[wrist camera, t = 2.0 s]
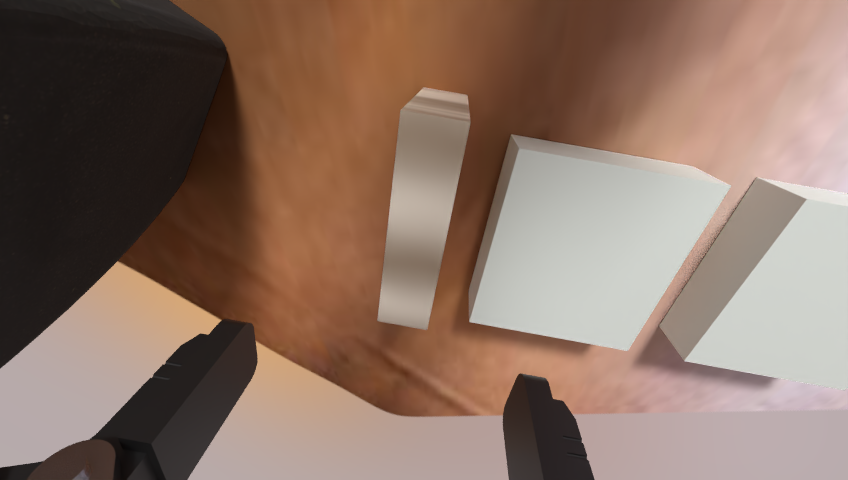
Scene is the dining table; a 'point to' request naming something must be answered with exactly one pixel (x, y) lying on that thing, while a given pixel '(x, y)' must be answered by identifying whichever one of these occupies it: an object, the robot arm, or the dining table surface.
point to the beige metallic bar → (422, 203)
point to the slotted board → (665, 261)
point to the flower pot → (90, 141)
